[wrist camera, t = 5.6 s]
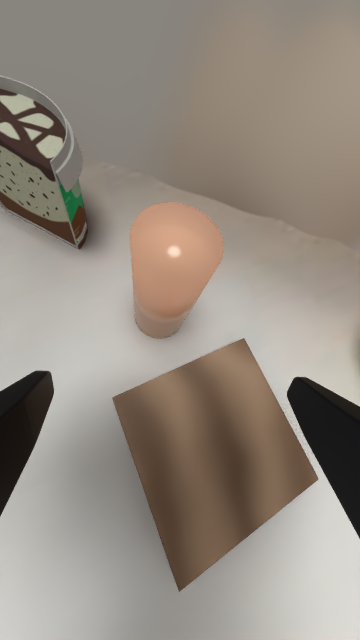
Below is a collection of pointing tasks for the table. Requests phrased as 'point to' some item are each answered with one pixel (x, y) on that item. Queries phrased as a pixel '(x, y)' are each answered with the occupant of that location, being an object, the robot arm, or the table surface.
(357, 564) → the table surface
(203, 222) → the pillar candle
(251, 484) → the walnut board
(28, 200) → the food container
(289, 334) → the table surface
